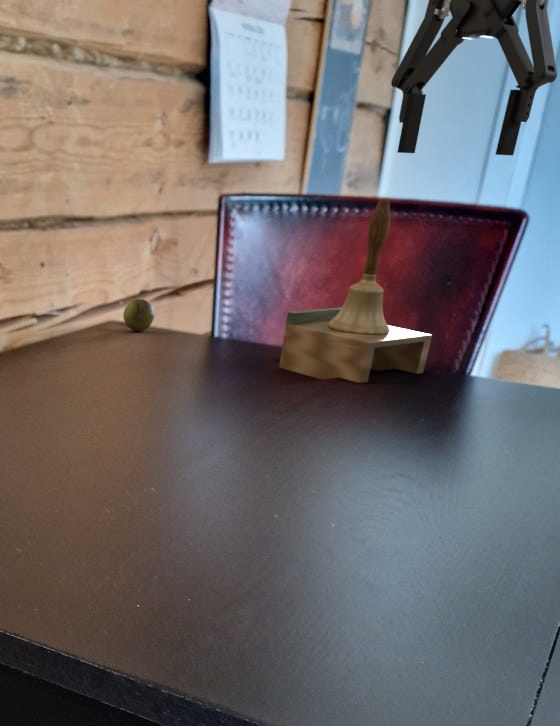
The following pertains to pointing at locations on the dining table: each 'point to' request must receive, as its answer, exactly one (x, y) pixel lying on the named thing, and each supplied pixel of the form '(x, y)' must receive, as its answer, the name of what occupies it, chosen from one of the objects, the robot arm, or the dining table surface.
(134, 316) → the lime
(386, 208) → the hand bell
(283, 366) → the shelf
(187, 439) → the dining table surface
